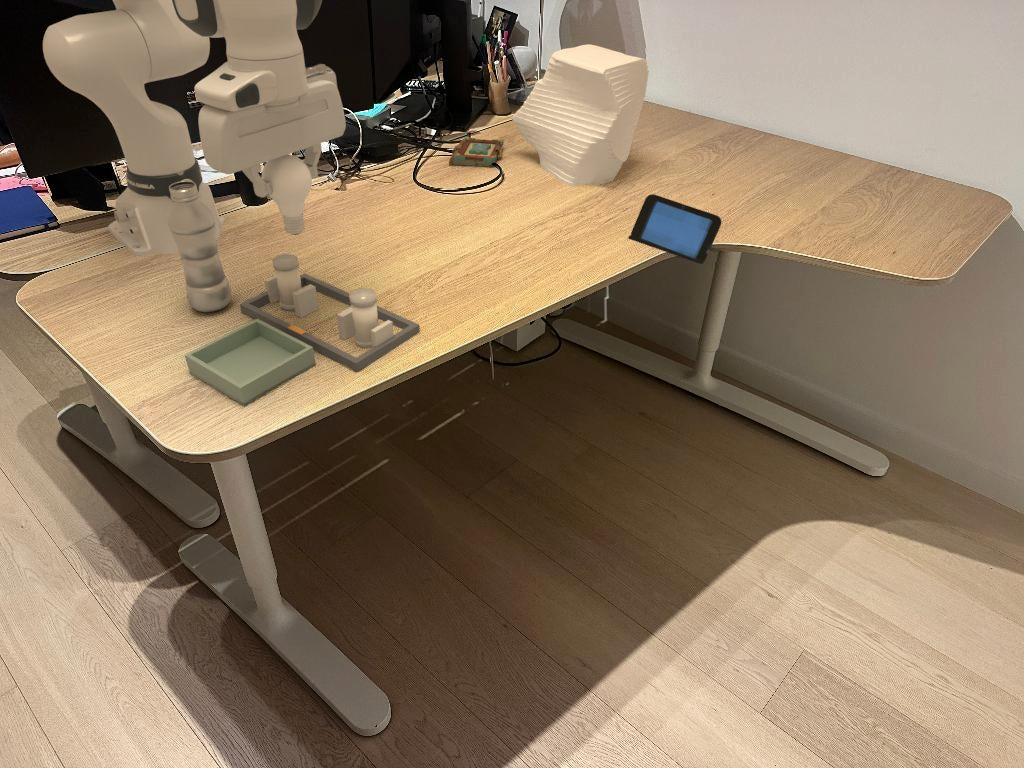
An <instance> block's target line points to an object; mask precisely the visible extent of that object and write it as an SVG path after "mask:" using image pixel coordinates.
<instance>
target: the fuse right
mask: <svg viewBox="0 0 1024 768" xmlns="http://www.w3.org/2000/svg"><path fill="white" fill-rule="evenodd" d="M349 298H350V303H351V306H350V307H351V308H352V316H353V324H354V332H355V335H353V336H354V343H355V345H356V346H357V348H360V349H371V348H373V347H372V338H371V330H372V329H374V328H375V327H377V326H379V325H380V324H379V318H378V314H377V306H378V304H377V300H378V299H377V298H378V297H377V292H376V291H375V290H374V289H372V288H368V287H362V288H361V287H360V288H356V289H354V290H352V291H351V292H350V294H349Z"/></svg>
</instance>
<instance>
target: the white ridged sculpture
mask: <svg viewBox="0 0 1024 768" xmlns="http://www.w3.org/2000/svg"><path fill="white" fill-rule="evenodd" d="M546 67H547V69H546V70H545V72H544V75H543V77H542V78H541V79H538V80H536V82H535V84H534V86H533V89H532V91H530V93H529V95H528V96H527V97H526V100H525V101H524V102H523V105H521V107H520V108H519V109H518V110H516V112H515V113H514V114H513V115H512V118H511V119H512V122H513V123H514V125H515V126H516V129H517V130H518V131H519V132H520V135H521V137H522V138H524V140H525V142H526V143H527V144H530V145H531V146H533V147H534V149H535V150H536V152H537V153H538V157H539V165H540V167H541V169H543V170H544V171H545V172H547V173H549V174H550V175H551V176H553V177H555V179H557V180H559V181H561V183H563V184H565V185H567V186H570V187H576V186H577V187H578V186H580V187H581V186H587V185H593V186H596V185H599V186H601V185H600V184H602V185H604V183H605V184H607V183H606V182H608V183H611V182H613V181H614V179H616V177H617V175H618V173H619V172H620V170H621V168H622V166H623V163H625V162H626V161H627V160H628V159H629V158H628V157H629V155H630V152H631V148H632V143H633V137H634V135H635V134H634V133H635V131H637V125H638V124H639V118H640V117H641V111H642V110H643V104H644V102H645V97H646V93H647V85H648V79H649V65H648V61H647V60H646V59H645V58H641V57H638V56H634V55H629V54H625V53H623V52H621V51H616V50H614V49H613V50H612V49H609V48H607V47H606V48H605V47H604V46H603V47H602V46H599V45H594V44H590V43H589V44H581V45H578V46H575V47H568V48H562V49H560V50H557V51H554V52H553V53H552V54H551V57H550V58H549V60H548V64H547V66H546ZM610 181H611V182H610Z"/></svg>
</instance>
